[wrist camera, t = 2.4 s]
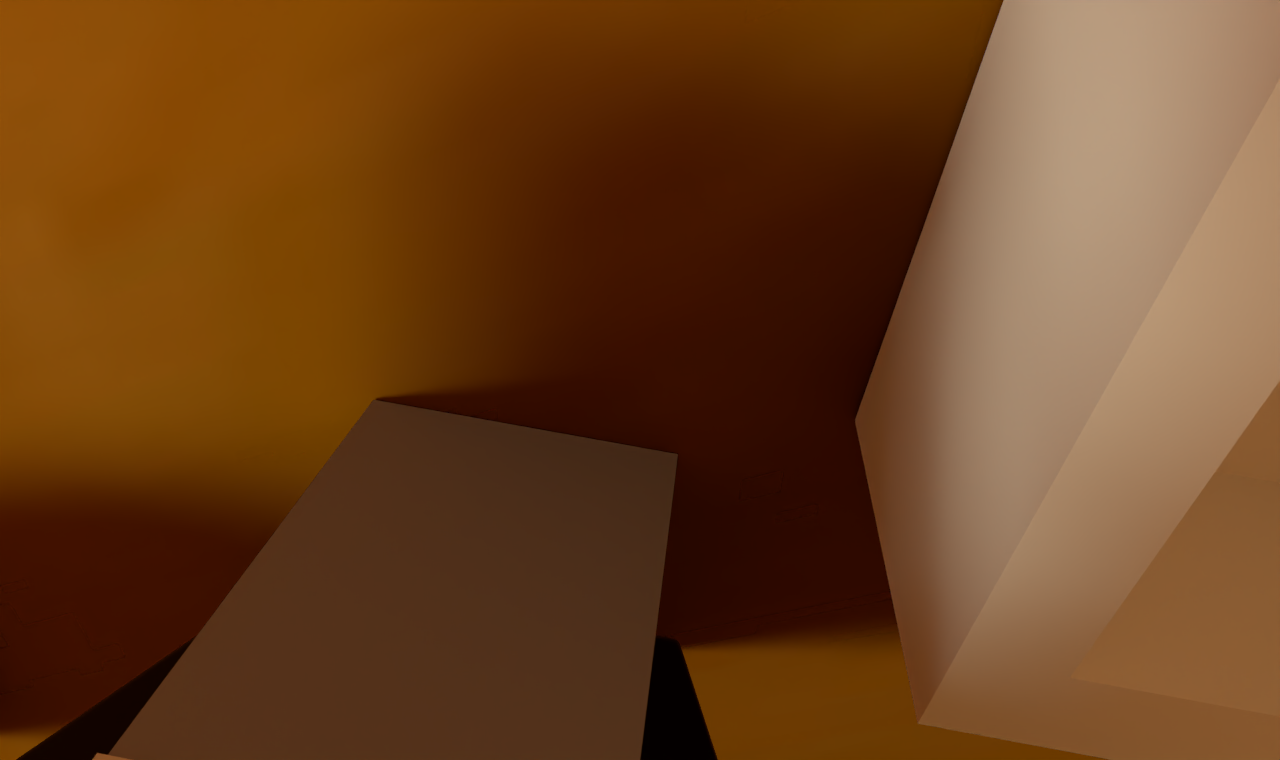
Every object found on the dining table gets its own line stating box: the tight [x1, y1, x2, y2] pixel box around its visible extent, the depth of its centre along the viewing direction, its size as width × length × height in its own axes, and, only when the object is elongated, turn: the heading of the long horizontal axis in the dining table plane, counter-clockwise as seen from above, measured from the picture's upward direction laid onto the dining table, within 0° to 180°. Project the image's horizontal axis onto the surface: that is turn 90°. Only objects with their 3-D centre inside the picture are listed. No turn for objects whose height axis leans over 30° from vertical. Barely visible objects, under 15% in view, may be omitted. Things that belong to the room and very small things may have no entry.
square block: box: [92, 400, 678, 760], centre depth 8 cm, size 4×4×6 cm
